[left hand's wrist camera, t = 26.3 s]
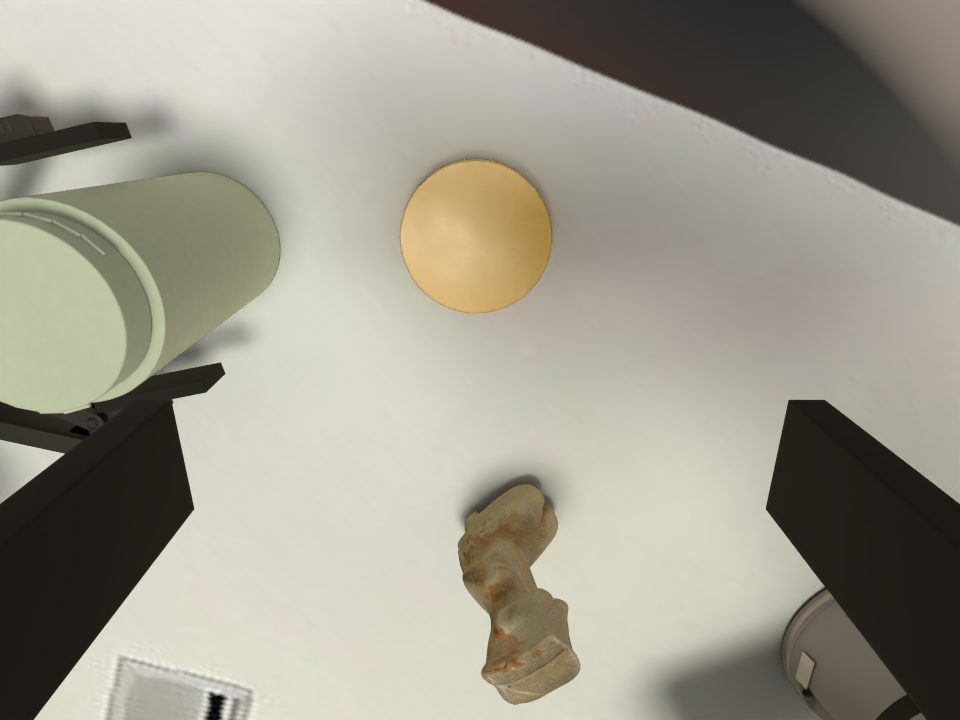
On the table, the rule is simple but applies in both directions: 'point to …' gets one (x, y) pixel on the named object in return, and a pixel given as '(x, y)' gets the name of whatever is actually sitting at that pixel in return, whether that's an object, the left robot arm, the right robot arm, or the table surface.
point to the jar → (122, 282)
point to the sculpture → (517, 596)
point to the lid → (475, 236)
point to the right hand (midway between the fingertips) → (168, 263)
